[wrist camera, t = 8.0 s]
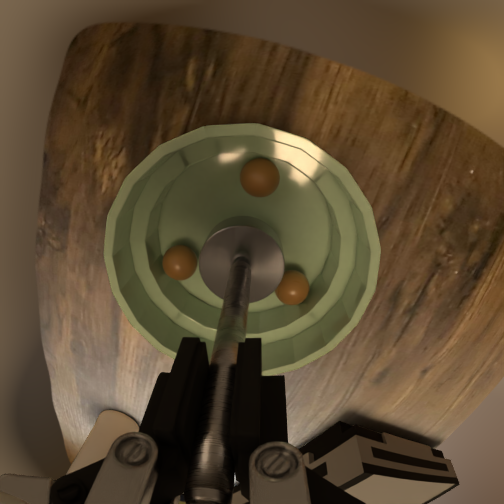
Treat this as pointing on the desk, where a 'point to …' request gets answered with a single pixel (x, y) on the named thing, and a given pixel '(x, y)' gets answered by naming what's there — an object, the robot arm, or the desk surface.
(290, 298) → the bead
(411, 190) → the desk surface
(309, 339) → the bowl
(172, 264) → the bead
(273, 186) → the bead
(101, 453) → the drinking glass
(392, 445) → the game console
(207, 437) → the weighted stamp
